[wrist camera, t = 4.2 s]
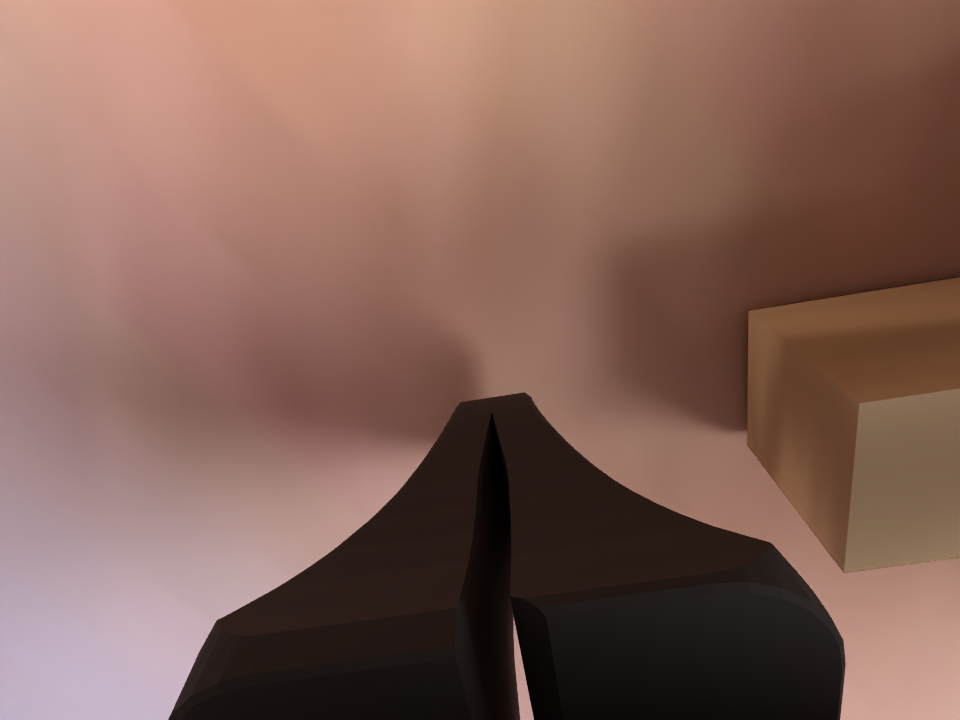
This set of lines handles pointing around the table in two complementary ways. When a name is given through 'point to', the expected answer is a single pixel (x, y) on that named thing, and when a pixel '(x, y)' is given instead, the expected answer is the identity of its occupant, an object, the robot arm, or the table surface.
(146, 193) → the table surface
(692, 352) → the table surface
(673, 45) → the table surface
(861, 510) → the wooden post with crossbar
